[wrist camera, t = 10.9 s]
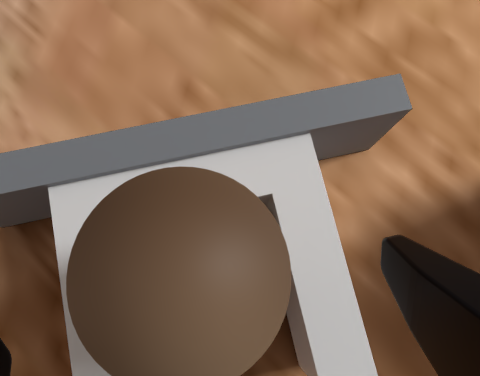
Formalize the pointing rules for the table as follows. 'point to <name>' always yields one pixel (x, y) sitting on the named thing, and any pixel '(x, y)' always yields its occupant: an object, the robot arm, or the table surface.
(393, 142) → the table surface
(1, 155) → the backstop wall
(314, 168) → the socket block
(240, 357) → the dowel
